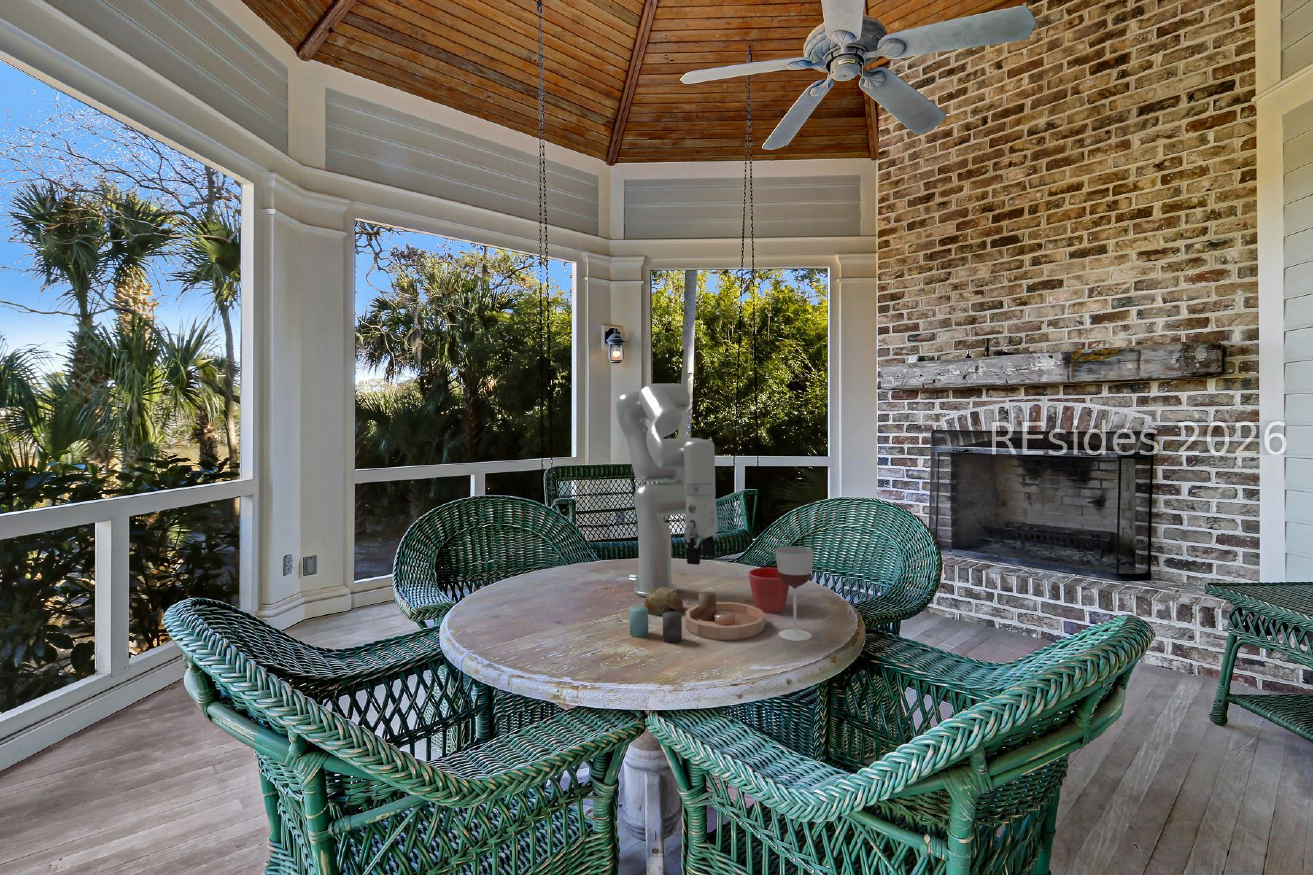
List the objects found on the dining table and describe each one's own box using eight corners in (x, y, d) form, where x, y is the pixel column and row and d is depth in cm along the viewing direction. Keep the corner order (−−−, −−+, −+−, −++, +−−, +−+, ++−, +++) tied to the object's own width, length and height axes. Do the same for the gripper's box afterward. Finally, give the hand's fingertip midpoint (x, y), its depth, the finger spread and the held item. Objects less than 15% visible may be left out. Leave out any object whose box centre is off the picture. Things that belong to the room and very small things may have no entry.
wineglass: (807, 643, 146) (806, 555, 145) (771, 636, 151) (770, 551, 150) (818, 632, 153) (818, 548, 152) (783, 626, 158) (782, 545, 157)
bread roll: (652, 630, 167) (657, 606, 164) (636, 604, 175) (641, 580, 172) (685, 623, 172) (691, 600, 169) (668, 598, 180) (673, 575, 177)
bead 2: (659, 641, 149) (659, 615, 149) (668, 635, 153) (668, 610, 153) (676, 644, 147) (675, 618, 147) (685, 638, 151) (684, 613, 151)
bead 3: (700, 621, 160) (699, 597, 159) (697, 615, 164) (697, 592, 164) (717, 620, 160) (717, 596, 160) (715, 614, 164) (714, 591, 164)
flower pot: (791, 615, 166) (790, 578, 165) (747, 613, 168) (747, 576, 167) (791, 603, 176) (790, 568, 176) (750, 601, 178) (749, 566, 178)
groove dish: (672, 632, 155) (672, 619, 155) (706, 609, 172) (706, 598, 172) (746, 645, 146) (746, 632, 146) (775, 620, 162) (775, 608, 162)
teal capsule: (626, 635, 154) (625, 610, 154) (635, 629, 158) (635, 605, 157) (642, 638, 152) (642, 613, 151) (651, 632, 156) (651, 607, 155)
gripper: (700, 495, 149) (701, 568, 150) (726, 486, 165) (728, 553, 165) (670, 494, 153) (672, 566, 153) (699, 485, 168) (701, 551, 169)
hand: (701, 559), depth 159 cm, fingers open, 9 cm apart
